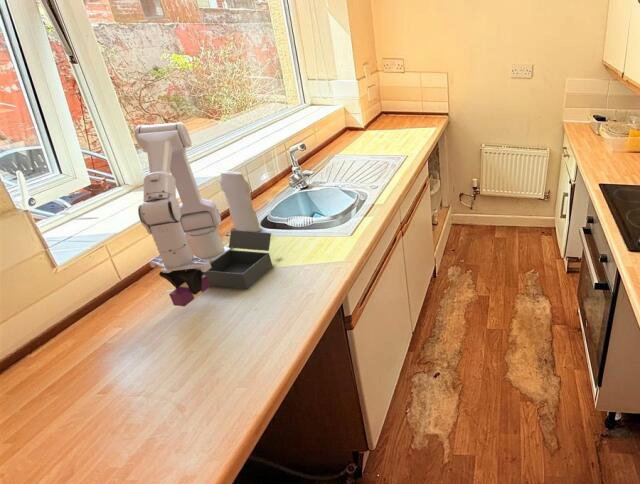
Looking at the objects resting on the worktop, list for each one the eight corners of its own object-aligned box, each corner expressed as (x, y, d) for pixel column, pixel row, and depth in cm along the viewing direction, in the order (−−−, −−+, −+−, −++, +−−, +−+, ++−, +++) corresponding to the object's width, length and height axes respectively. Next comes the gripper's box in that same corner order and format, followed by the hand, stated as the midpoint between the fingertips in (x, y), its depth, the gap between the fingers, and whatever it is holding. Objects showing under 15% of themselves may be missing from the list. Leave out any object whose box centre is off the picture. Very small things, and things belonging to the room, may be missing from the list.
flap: (230, 230, 120) (232, 230, 120) (228, 247, 119) (229, 247, 120) (270, 233, 118) (271, 233, 119) (268, 250, 118) (268, 250, 118)
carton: (205, 285, 112) (199, 270, 110) (233, 263, 122) (229, 249, 120) (247, 288, 111) (242, 274, 109) (272, 266, 120) (269, 252, 118)
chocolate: (173, 305, 99) (168, 293, 97) (200, 285, 106) (196, 274, 104) (184, 306, 98) (180, 294, 97) (210, 286, 106) (206, 275, 104)
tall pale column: (229, 231, 139) (211, 172, 130) (238, 225, 143) (221, 168, 134) (257, 233, 138) (240, 174, 129) (265, 227, 142) (249, 170, 133)
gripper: (129, 252, 93) (150, 298, 99) (186, 257, 92) (204, 304, 97) (157, 237, 99) (175, 281, 105) (210, 241, 98) (226, 286, 104)
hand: (191, 291), depth 101 cm, fingers closed on chocolate, 3 cm apart
